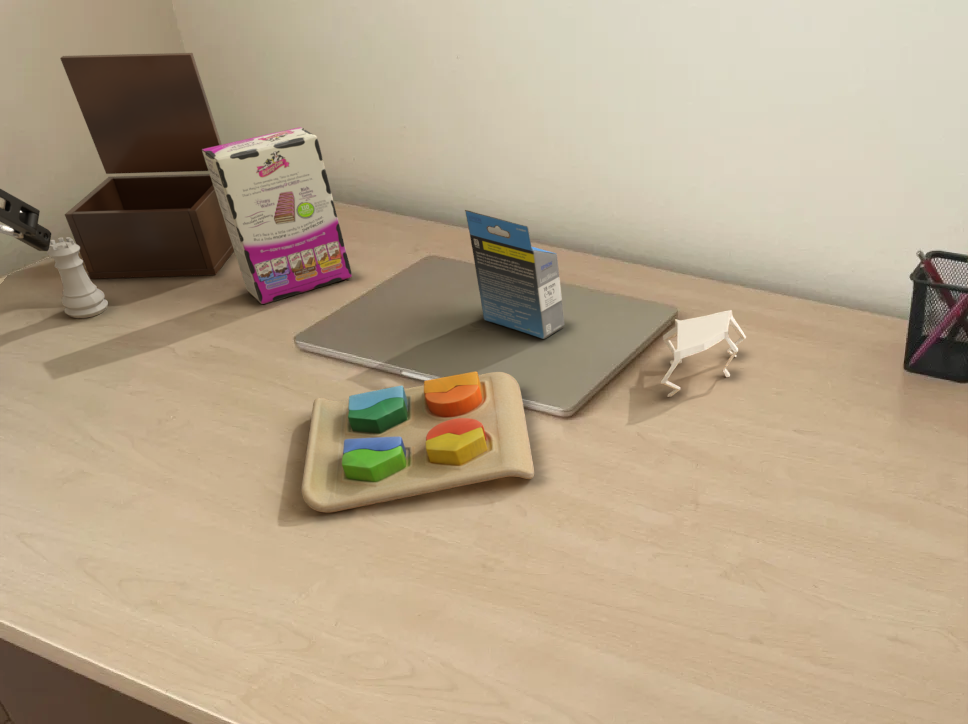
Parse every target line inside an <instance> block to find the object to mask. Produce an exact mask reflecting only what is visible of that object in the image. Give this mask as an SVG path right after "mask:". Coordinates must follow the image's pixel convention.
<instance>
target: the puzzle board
mask: <svg viewBox="0 0 968 724" xmlns="http://www.w3.org/2000/svg"><path fill="white" fill-rule="evenodd" d="M521 391H522V390H521V387H520V383H518V381H517V380H516V378H514V376H513V375H511V374H509V373H506V372H503V371H492V372H487V373H482V374H478V371H469V372H465V373H464V372H463V373H460V374H459V373H458V374H454V375H447V376H443V377H437V378H432V379H431V378H430V379H427V380H424V381H423V385H417V386H413V387H408V388H407V387H406V388H404V385H396V386H391V387H386V388H381V389H378V390H371V391H365V392H362V393H357V394H356V393H355V394H351V395H349V397H348V399H345V400H331V399H327V398H324V397H317V398H315V399H314V401H313V402H312V403H313V404H312V410H311V417H310V418H311V419H310V425H309V432H308V438H307V446H306V452H305V461H304V468H303V475H302V481H301V496H302V499H303V501H304V502H305V504H306V505H307V507H309V508H311V510H314V511H316V512H320V513H327V514H328V513H329V514H330V513H336V512H341V511H345V510H351V509H356V508H360V507H365V506H370V505H376V504H380V503H385V502H390V501H395V500H400V499H405V498H410V497H415V496H420V495H425V494H429V493H434V492H439V491H444V490H448V489H453V488H459V487H463V486H469V485H473V484H478V483H483V482H488V481H493V480H499V479H503V478H509V477H515V478H521V479H524V480H531V479H533V478H534V476H535V468H534V462H533V461H534V460H533V457H532V449H531V443H530V438H529V431H528V426H527V420H526V415H525V407H524V403H523V402H524V401H523V397H522V392H521Z"/></svg>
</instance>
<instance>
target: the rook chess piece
mask: <svg viewBox="0 0 968 724" xmlns="http://www.w3.org/2000/svg"><path fill="white" fill-rule="evenodd" d="M57 240H58V242H56V240H55V239H51V240H50V246H49V250H48V251H46V255H47V256H49V257H50V258H51V259H53V261H54V263H55V264H54V268H56V269H57V271H58V273H59V275H60V280H61V284H62V288H63V289H62V297H61V305H62V306H63V307H64V313H65V314H66V315H68V316H69V317H71V318H72V319H73V318H74V319H87V318H92V317H95V316H98V315H100V314H102V313H104V312H105V311H106V310H107V308H108V305H109V301H108V300H107V299H106V298H105V293H104V291H102V289H100V288H97V285H96V284H95V283H93V281H92V279H90V277H89V274H88V272H87V270H85V266H84V265H83V264H84V262H83V259H82V258H80V256H79V254H80V252H79V250H80V246H78V245H77V244H76V242H75V240H74V239H73V238H72V237H69V236H66V237H65V240H64V237H63V236H61V237H57Z"/></svg>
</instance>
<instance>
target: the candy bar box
mask: <svg viewBox="0 0 968 724" xmlns="http://www.w3.org/2000/svg"><path fill="white" fill-rule="evenodd" d="M202 152H203V155H204V159H205V162H206V165H207V168H208V171H207V172H208V174H210V177H211V180H212V183H213V186H214V189H215V192H216V195H217V199H218V202H219V205H220V208H221V211H222V214H223V217H224V221H225V224H226V227H227V230H228V233H229V236H230V239H231V242H232V246H233V249H234V252H233V253H234V255H235V258H236V261H237V264H238V267H239V270H240V273H241V277H242V279H243V283H244V285H245V288H246V291H247V292H248V294H250V295H251V296H252V297H253V298H255V300H256V301H258V302H259V303H260V304H261V305H266V304H269V303H272V302H275V301H278V300H283V299H285V298H288V297H292V296H295V295H299V294H302V293H306V292H309V291H313V290H315V289H318V288H321V287H326V286H328V285H331V284H335V283H338V282H341V281H344V280H348V279H350V278H353V273H352V270H351V264H350V261H349V257H348V254H347V249H346V246H345V242H344V238H343V233H342V230H341V225H340V221H339V218H338V215H337V214H338V213H337V210H336V206H335V203H334V198H333V194H332V191H331V186H330V183H329V178H328V174H327V171H326V166H325V163H324V159H323V154H322V150H321V146H320V143H319V140H318V135H315V134H314V133H312V132H310V131H308V130H307V129H304V127H301V126H299V127H295V128H291V129H286V130H282V131H276V132H272V133H267V134H263V135H258V136H254V137H250V138H244V139H240V140H236V141H232V142H228V143H227V142H226V143H223V144H222V145H219V146H214V147H210V148H205V149H202Z"/></svg>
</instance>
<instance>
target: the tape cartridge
mask: <svg viewBox="0 0 968 724" xmlns="http://www.w3.org/2000/svg"><path fill="white" fill-rule="evenodd" d="M464 212H465V217H466V223H467V227H468V231H469V232H468V233H469V237H470V238H469V239H470V243H471V244H470V245H471V249H472V256H473V261H474V268H475V273H476V279H477V286H478V291H479V298H480V304H481V309H482V317H483V320H484V321H485V322H488V323H492V324H496V325H500V326H503V327H506V328H508V329H512V330H516V331H518V332H521V333H523V334H524V333H525V334H527V335H531V336H534V337H537V338H539V339H542V340H545V339H546V338H548V337H550V336H552V335H553V334H554V333H556V332H558V331H560V330H562V329H564V327H565V316H564V306H563V305H564V304H563V297H562V296H563V295H562V288H561V287H562V286H561V279H560V270H559V260H558V254H557V252H553V251H549V250H546V249H542V248H539V247H535V246H532V241H531V237H530V230H529V226H528V225H523V224H520V223H516V222H512V221H509V220H505V219H502V218H497V217H493V216H491V215H486V214H482V213H479V212H475V211H472V210H468V209H464ZM496 227H498V228H499V229H500V230H501V231H504V232H506V233H507V234H508V236H505V235H502V234H498V233H496V232H495V233H494V232H491V231H490V230H489V228H493V229H495V228H496Z"/></svg>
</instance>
